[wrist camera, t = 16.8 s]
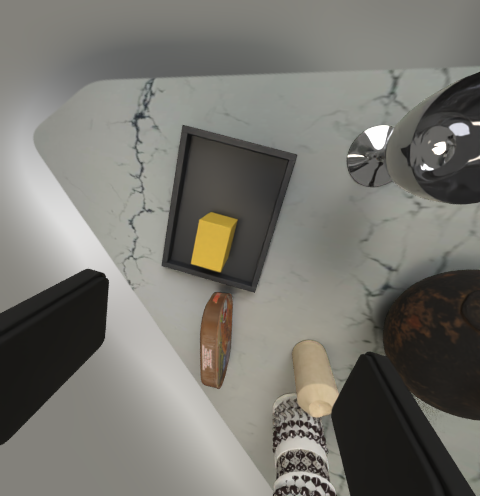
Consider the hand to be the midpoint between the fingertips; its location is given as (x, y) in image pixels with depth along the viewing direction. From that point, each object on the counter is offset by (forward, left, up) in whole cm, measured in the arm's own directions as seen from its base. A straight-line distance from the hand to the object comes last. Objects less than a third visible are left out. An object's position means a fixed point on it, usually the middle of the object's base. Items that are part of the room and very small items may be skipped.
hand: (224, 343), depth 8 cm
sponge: (+4, -5, -26) cm, 26 cm away
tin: (+19, -1, -26) cm, 33 cm away
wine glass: (-11, +12, -26) cm, 31 cm away
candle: (+20, +14, -26) cm, 36 cm away
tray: (+1, -5, -26) cm, 27 cm away
